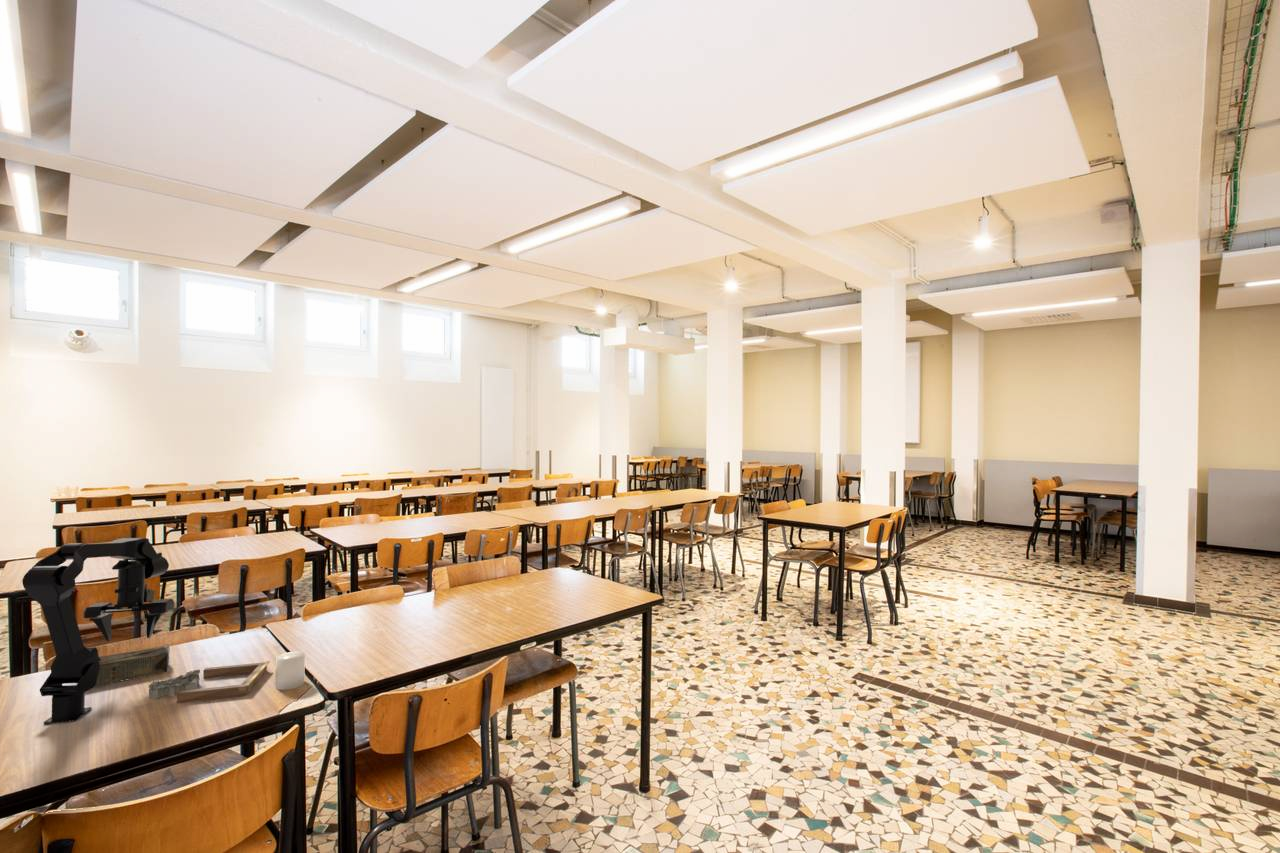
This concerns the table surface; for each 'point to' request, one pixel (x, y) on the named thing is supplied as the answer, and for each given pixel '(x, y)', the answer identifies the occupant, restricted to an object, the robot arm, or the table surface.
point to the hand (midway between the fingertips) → (129, 639)
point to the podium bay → (225, 691)
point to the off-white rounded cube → (290, 670)
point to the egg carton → (174, 685)
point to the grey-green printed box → (133, 665)
